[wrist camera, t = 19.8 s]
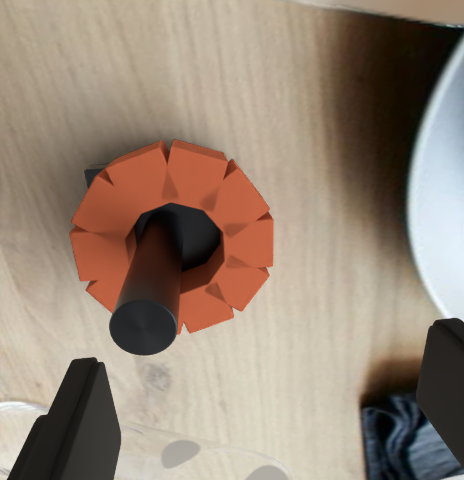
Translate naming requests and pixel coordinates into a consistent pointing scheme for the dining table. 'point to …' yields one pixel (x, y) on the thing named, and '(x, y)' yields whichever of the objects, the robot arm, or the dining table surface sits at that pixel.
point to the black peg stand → (158, 273)
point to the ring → (184, 193)
